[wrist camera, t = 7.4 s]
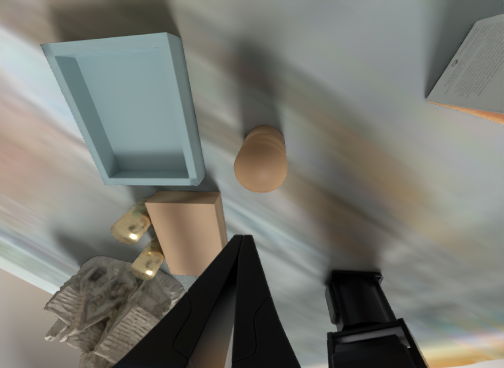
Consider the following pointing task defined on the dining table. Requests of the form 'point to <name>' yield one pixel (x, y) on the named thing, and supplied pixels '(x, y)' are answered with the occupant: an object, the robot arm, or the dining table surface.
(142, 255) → the peg
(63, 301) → the ceramic cottage
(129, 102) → the tray
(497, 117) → the small box
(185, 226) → the board
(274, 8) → the dining table surface
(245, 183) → the dowel
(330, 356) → the robot arm
